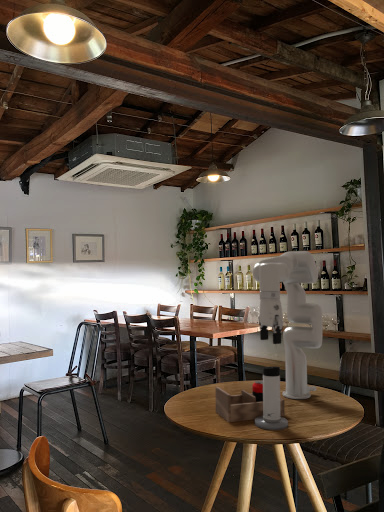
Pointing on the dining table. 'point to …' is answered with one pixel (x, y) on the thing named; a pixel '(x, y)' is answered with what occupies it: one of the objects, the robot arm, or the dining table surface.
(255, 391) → the soda can
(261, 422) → the grey round plate
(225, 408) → the walnut rack
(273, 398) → the travel mug
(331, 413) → the dining table surface
